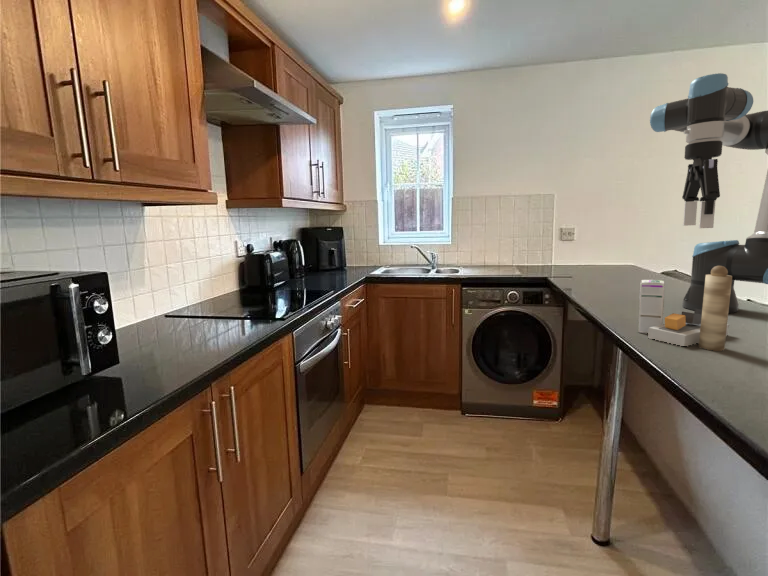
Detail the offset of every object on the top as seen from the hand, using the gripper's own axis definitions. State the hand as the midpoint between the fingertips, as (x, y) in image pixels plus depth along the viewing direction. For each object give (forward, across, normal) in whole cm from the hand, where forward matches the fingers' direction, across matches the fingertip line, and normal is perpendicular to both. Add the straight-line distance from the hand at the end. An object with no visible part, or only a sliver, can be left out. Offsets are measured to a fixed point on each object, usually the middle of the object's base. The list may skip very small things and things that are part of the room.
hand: (697, 226), depth 109 cm
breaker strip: (+29, +3, -1) cm, 29 cm away
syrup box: (+29, -1, -9) cm, 31 cm away
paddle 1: (+26, +7, -5) cm, 28 cm away
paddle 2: (+26, -2, +3) cm, 27 cm away
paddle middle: (+26, +3, -1) cm, 26 cm away
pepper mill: (+29, +12, +2) cm, 32 cm away
